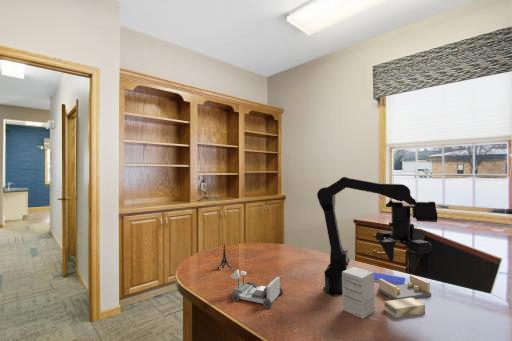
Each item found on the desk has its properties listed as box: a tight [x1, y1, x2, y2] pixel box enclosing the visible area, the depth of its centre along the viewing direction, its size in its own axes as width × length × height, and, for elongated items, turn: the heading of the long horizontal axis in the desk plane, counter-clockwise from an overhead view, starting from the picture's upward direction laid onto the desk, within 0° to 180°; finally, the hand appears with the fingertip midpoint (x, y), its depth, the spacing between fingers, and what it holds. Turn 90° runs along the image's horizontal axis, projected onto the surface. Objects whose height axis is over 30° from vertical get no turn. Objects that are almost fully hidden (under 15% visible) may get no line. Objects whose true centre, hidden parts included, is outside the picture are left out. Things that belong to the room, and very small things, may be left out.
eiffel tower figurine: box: [219, 243, 231, 268], centre depth 128 cm, size 15×10×13 cm
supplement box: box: [342, 266, 376, 319], centre depth 86 cm, size 7×7×13 cm
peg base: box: [377, 274, 432, 300], centre depth 99 cm, size 15×9×4 cm, turn 104°
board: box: [383, 298, 426, 318], centre depth 86 cm, size 11×5×3 cm, turn 104°
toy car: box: [229, 269, 284, 309], centre depth 98 cm, size 18×10×12 cm
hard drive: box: [372, 271, 406, 286], centre depth 111 cm, size 2×8×12 cm
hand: (401, 266), depth 91 cm, fingers open, 9 cm apart
